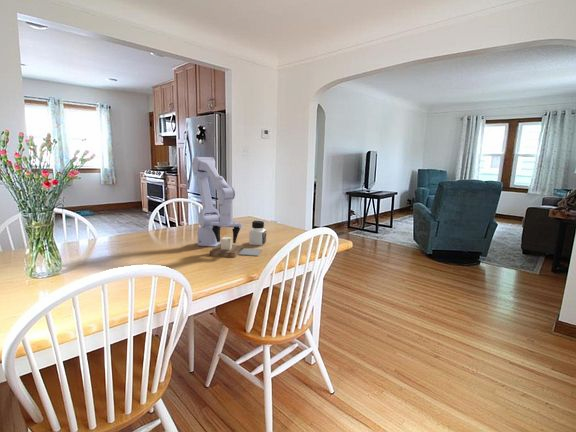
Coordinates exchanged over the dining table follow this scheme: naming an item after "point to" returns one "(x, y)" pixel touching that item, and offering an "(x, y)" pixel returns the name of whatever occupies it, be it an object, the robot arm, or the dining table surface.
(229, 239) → the peg
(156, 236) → the dining table surface
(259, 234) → the white bottle
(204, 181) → the robot arm
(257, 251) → the mat
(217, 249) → the pocket block
